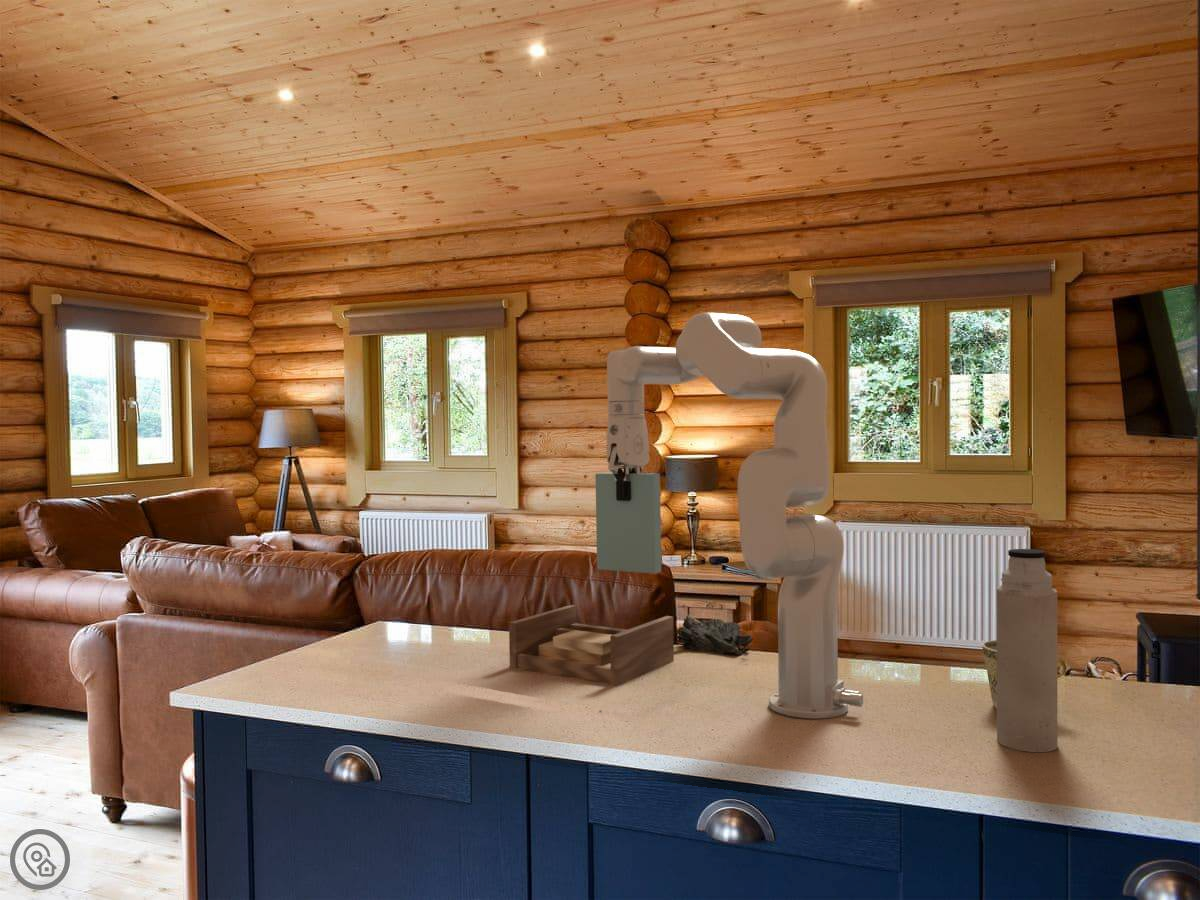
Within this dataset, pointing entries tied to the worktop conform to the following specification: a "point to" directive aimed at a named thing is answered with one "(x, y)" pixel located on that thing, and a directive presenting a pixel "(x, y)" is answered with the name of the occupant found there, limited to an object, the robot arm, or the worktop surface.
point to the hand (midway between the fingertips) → (627, 499)
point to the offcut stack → (579, 648)
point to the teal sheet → (629, 524)
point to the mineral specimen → (713, 636)
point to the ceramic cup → (991, 667)
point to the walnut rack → (628, 647)
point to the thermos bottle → (1027, 654)
